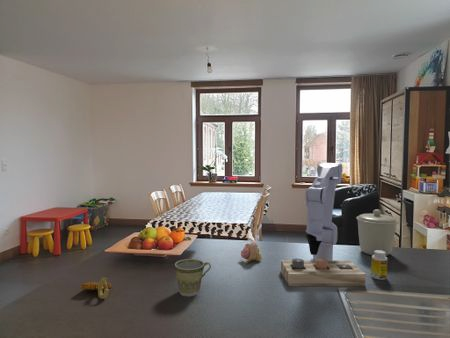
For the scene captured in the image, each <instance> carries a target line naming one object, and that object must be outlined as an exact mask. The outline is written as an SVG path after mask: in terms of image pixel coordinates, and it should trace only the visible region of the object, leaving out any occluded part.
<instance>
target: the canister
mask: <svg viewBox="0 0 450 338" xmlns="http://www.w3.org/2000/svg"><path fill="white" fill-rule="evenodd" d="M355 218H356V220H357V227H358V230H357V231H358V239H359V240H358V241H359V247H360V250H361V252H363V253H364V254H366V255H370V256H373V255H374V251H375V250H381V251H384V252H386V256H385V257H387V256H389V255H390V254H391V253H392V250H393V247H394V241H395V237H396V236H395V235H396V231H397V230H396V229H397V224H398V223H399V220H398V219H396V218H395V217H393V216H391V215H387V214H382V211H381V210H380V209H374V210H373V211H372V213H362V214H359V215H358V216H356V217H355Z"/></svg>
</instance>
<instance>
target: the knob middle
mask: <svg viewBox="0 0 450 338" xmlns="http://www.w3.org/2000/svg"><path fill="white" fill-rule="evenodd" d="M327 262H328V261H327V260H325V259H316V261H315V268H316V269H327Z"/></svg>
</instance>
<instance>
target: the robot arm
mask: <svg viewBox="0 0 450 338" xmlns="http://www.w3.org/2000/svg"><path fill="white" fill-rule="evenodd" d="M316 170H317V171H316V173H317V177H315V179H313V182H312V184H311V186H309V188H306V191H305V201H306V203H305V205H306V208H307V209H306V210H307V211H306V212H307V213H306V228H305V232H306V233H307V234H305V237H306V239H307V242H308V248H309V253H310V255H312V258H310V261H316V259H325V260H327V261H334V259H333V255H334V252H333V251H334V246H335V245H336V244H337V241H338V226H337V225H336V224H335V223H334V222H333V220H332V219H333V213H334V212H333V211H334V204H335V196H336V188H337V186H338V185H339V184H341V182H342V180H343V179H342V178H343V164H342V163H341V162H338V163H337V162H335V163H334V162H320V161H319V163H318V164H317V168H316Z"/></svg>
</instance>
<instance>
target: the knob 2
mask: <svg viewBox="0 0 450 338" xmlns="http://www.w3.org/2000/svg"><path fill="white" fill-rule="evenodd" d="M338 268H339V269H351V266H349V265H346V264H340V265H339V266H338Z"/></svg>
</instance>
